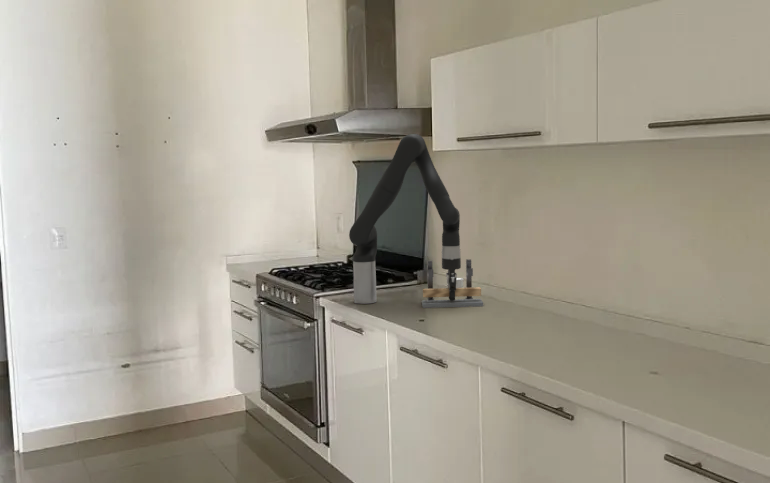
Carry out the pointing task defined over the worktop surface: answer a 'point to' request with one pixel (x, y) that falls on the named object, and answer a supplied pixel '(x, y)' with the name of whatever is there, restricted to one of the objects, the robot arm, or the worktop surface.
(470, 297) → the charcoal rack
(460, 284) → the beige white-topped cylinder
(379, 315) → the worktop surface
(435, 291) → the oak rail
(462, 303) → the slate mat
